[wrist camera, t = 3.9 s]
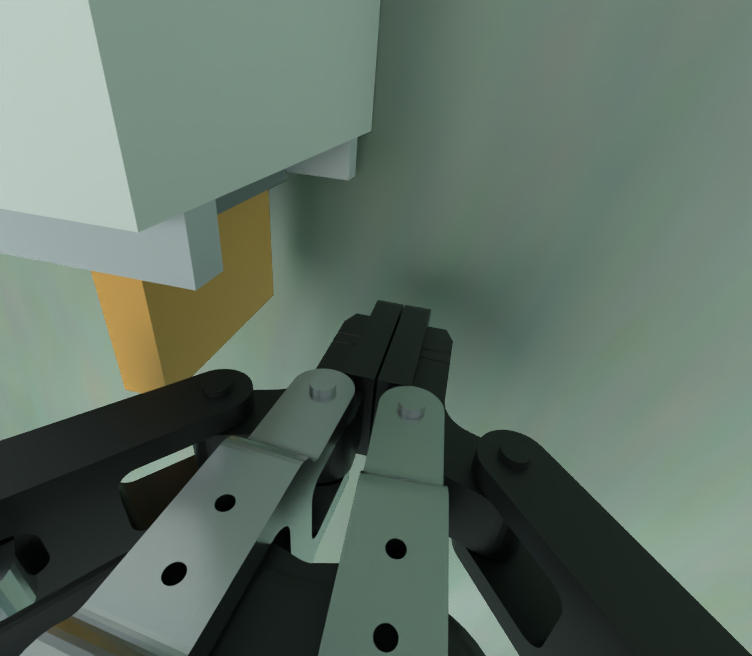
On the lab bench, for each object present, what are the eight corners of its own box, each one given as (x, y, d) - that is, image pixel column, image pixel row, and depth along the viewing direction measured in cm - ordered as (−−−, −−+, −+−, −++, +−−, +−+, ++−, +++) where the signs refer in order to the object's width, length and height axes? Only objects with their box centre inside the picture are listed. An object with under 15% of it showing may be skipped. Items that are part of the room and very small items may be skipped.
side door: (14, 111, 15) (-304, 133, 9) (285, 147, 13) (121, 201, 7) (58, 248, 17) (-164, 335, 11) (289, 290, 16) (170, 417, 10)
